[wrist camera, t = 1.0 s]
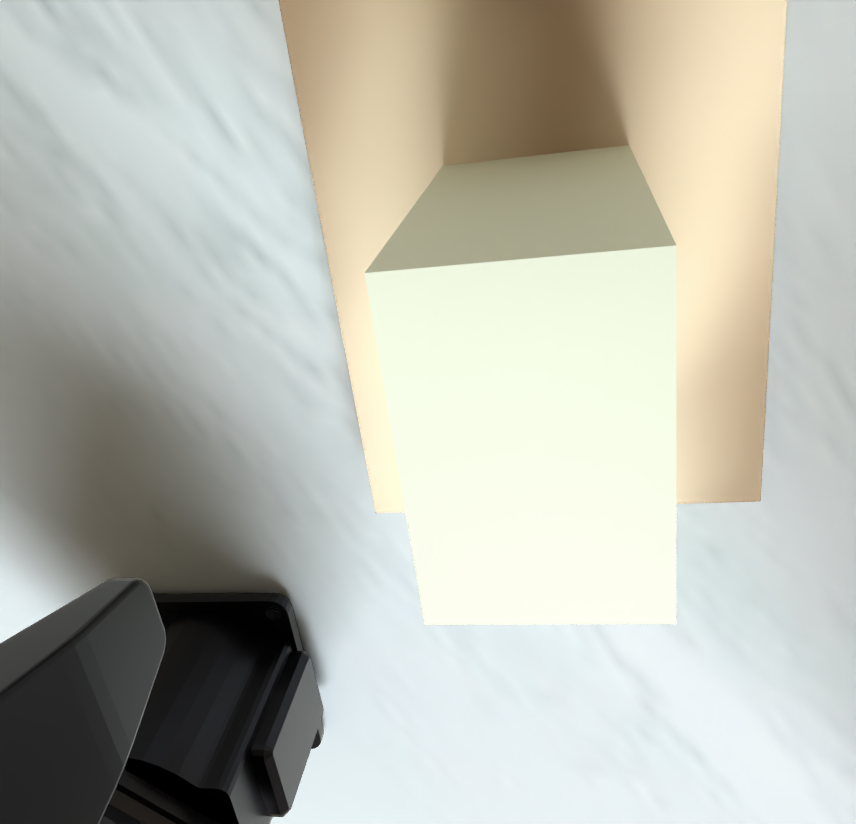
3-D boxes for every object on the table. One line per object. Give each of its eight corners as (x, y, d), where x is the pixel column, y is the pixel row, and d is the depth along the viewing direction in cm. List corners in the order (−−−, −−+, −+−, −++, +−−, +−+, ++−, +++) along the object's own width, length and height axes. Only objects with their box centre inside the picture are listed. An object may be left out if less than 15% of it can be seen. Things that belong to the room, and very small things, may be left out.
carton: (472, 409, 20) (424, 624, 13) (442, 166, 18) (364, 273, 11) (637, 400, 20) (679, 624, 13) (632, 144, 17) (680, 244, 10)
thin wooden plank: (386, 484, 24) (363, 545, 21) (219, -443, 15) (146, -538, 12) (748, 470, 22) (773, 536, 19) (796, -599, 13) (856, -751, 10)
